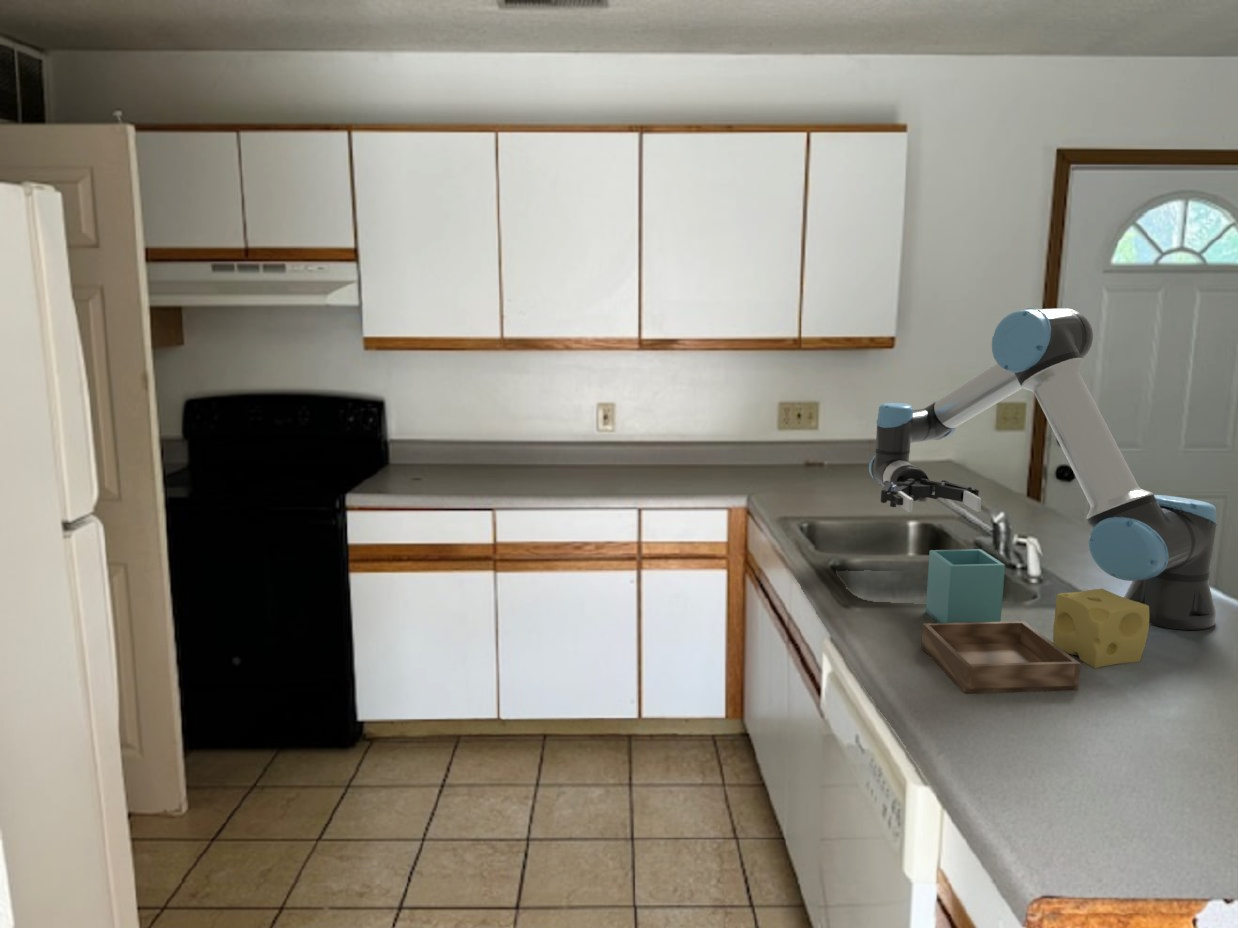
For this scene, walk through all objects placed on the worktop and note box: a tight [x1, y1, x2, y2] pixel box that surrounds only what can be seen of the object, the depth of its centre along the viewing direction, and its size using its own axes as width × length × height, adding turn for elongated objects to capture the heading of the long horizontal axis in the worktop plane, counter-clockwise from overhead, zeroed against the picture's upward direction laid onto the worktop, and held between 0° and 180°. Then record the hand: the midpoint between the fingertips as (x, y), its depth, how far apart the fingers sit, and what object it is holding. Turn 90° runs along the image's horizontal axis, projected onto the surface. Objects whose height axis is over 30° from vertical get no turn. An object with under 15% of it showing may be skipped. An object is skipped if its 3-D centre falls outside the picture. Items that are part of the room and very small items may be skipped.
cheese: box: [1052, 588, 1150, 669], centre depth 154 cm, size 10×11×10 cm
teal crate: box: [925, 548, 1006, 623], centre depth 168 cm, size 10×10×12 cm
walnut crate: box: [921, 620, 1081, 694], centre depth 148 cm, size 18×18×4 cm
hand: (945, 505), depth 176 cm, fingers open, 13 cm apart
